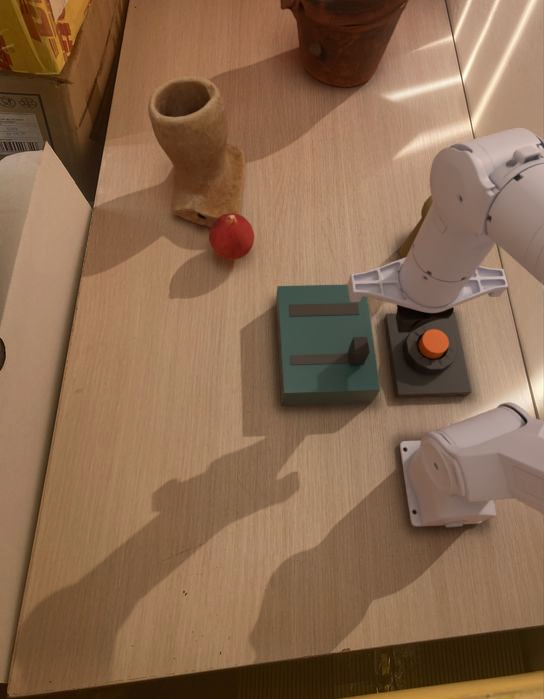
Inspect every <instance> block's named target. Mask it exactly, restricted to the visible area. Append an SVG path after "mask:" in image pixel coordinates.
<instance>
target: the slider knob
mask: <svg viewBox="0 0 544 699" xmlns="http://www.w3.org/2000/svg"><path fill="white" fill-rule="evenodd" d="M348 353H349V362H350V365H364V363H365V361H366V359H367V357H368V355H369V353H370V352H369V345H368V337H353V339H352V342H351V344H350V347H349V349H348Z"/></svg>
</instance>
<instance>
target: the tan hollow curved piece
mask: <svg viewBox="0 0 544 699" xmlns="http://www.w3.org/2000/svg"><path fill="white" fill-rule="evenodd" d="M147 106H148V107H147V111H148V117H149V121H150V123H151V128H152V130H153V133H154V137H155V138H156V141H157V142H158V144H159V146H160V147H161V149H162V151H163V152H164V153H165V155H166V156H167V157H168V159H169V161H170V162H171V164H172V165H173V167H174V169H175V172H174V173H175V174H174V178H173V179H174V181H173V186H172V187H173V188H172V200H171V204H170V211H171V213H172V214H174V215H175V216H179V217H181V218H182V219H184V220H186V221H189V222H192V223H194V224H197V225H200V226H204V227H208V228H211V226H212V224H213V223H214V222H215V220H216V219H217V218H218V217H220V216H222V215H223V214H227V213H235V214H239V215H241V210H242V204H243V194H244V193H243V192H244V186H245V175H246V158H245V154H244V151H243V150H242V149H241V148H239V147H238V146H234V145H230V144H227V141H228V135H229V134H228V132H229V122H228V117H227V116H228V115H227V111H226V110H227V109H226V107H225V106H226V105H225V102H224V98H223V95H222V94H221V91H220V90H219V88H218V87H217V85H216V84H215V83H214V82H212V81H211V80H210V79H208V78H205V77H202V76H199V75H183V76H177V77H174V78H170V79H169V80H167V81H165V82H164V83H162V84H160V85H159V86H157V87H156V89H154V91H153V92H152V93H151V95H150V98H149V101H148V105H147Z"/></svg>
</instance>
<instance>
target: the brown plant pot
mask: <svg viewBox="0 0 544 699" xmlns="http://www.w3.org/2000/svg"><path fill="white" fill-rule="evenodd" d="M279 1H280V2H279V3H280V9H281V10H283V11H285V10H289V11H290V12H291V13H292V16H293V17H294V19H295V22H296V29H297V38H298V44H299V52H300V54H299V55H300V62H301V63H302V65H303V67H304V69H305V70H306V71H307V72H308V73H309V74H310V75H311V76H312V77H313V78H315V79H316V80H319V81H320V82H322V83H325V84H328V85H331V86H335V87H345V88H346V87H353V86H358V85H361V84H363V83H365V82H368V81H369V80H370V79H371V78H372V77H373V76H374V74H375V73H376V71H377V70H378V67H379V66H380V63H381V61H382V59H383V57H384V54H385V52H386V50H387V48H388V45H389V43H390V41H391V39H392V36H393V34H394V32H395V30H396V28H397V25H398V24H399V21H400V19H401V17H402V14H403V12H404V11H405V10H406V8H407V6H408V3H409V0H279Z"/></svg>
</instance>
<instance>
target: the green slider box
mask: <svg viewBox="0 0 544 699" xmlns="http://www.w3.org/2000/svg"><path fill="white" fill-rule="evenodd" d="M275 298H276V299H275V314H276V331H277V347H278V348H277V349H278V365H279V384H280V400H281V406H284V407H285V406H286V407H287V406H313V405H340V404H341V405H342V404H343V405H344V404H370V403H373V402H374V400H375V399H376V397H377V396H378V394H379V392H380V391H381V386H380V378H379V370H378V364H377V357H376V350H375V342H374V334H373V328H372V319H371V314H370V305H369V297H365V296H363V297H362V299H361V301H359V302H350V299H349V292H348V284H318V285H317V284H309V285H307V284H306V285H304V284H303V285H277V286H276V296H275ZM353 337H368V345H369V352H370V353H369V355H368V357H367V359H366V361H365V363H364V365H350V362H349V353H348V349H349V347H350V344H351V342H352V339H353Z"/></svg>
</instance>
